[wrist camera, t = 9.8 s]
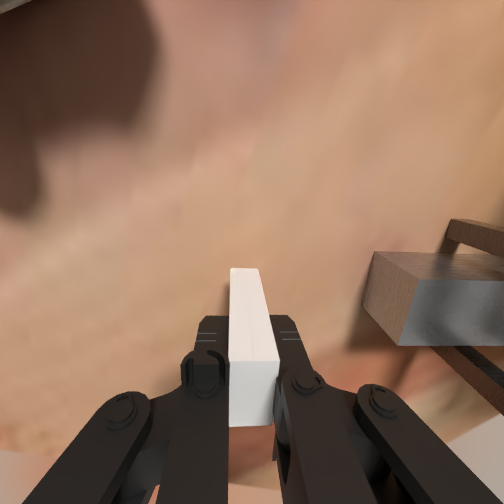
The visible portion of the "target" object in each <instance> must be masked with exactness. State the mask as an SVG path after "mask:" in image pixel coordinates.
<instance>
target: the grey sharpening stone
mask: <svg viewBox="0 0 504 504" xmlns="http://www.w3.org/2000/svg"><path fill="white" fill-rule="evenodd" d="M361 305H362V306H363V307H364V309H365V310H366V311H367V312H368V313H369V314H370V315H371V316H372V318H373V319H374V320H375V321H376V322H377V323H378V324H379V325H380V327H381V328H382V329H383V330H384V331H385V332H386V333H387V334H388V335H389V337H390V338H391V339H392V340H393V341H394V342H395V343H396V344H397V346H504V258H503V257H500V256H497V255H477V254H445V253H414V252H382V251H374V255H373V259H372V263H371V268H370V272H369V276H368V280H367V284H366V288H365V292H364V296H363V300H362V304H361Z"/></svg>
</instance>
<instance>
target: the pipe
mask: <svg viewBox="0 0 504 504" xmlns="http://www.w3.org/2000/svg"><path fill="white" fill-rule="evenodd" d="M29 1H31V0H0V14H1V13H4V12H6V11H8V10H11V9H13V8H15V7H18V6H20V5H22V4H25V3H27V2H29Z"/></svg>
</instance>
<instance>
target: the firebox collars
mask: <svg viewBox="0 0 504 504" xmlns="http://www.w3.org/2000/svg"><path fill="white" fill-rule="evenodd" d="M445 238H448V239H451V240H454V241H457V242H460V243H463V244H466V245H468V246H471V247H474V248H477V249H480V250H483V251H486V252H489V253H492V254H495V255H497V256H500V257H503V258H504V228H503V227H499V226H495V225H490V224H486V223H482V222H477V221H473V220H465V219H451V222H450V225H449V228H448V231H447V233H446V236H445ZM430 347H431V348H432V349H433V350H434V351H435V352H436V353H437V354H438V355H439V356H440V357H441V358H442V359H444V360H445V361H446V362H447V363H448V364H449V365H450V366H451V367H452V368H453V369H454V370H455V371H456V372H457V373H458V374H460V375H461V376H462V377H463V378H464V379H465V380H466V381H467V382H468V383H469V384H470V385H471V386H472V387H473V388H474V389H475V390H477V391H478V392H479V393H480V394H481V395H482V396H483V397H484V398H485V399H486V400H487V401H488V402H489V403H490V404H491V405H493V406H494V407H495V408H496V409H497V410H498V411H499V412H500V413H501V414H502V415H503V416H504V372H503V371H502V370H501V369H500V368H498V367H497V366H496V365H494V364H493V363H492V362H491V361H489V360H488V359H487V358H485V357H484V356H483V355H481V354H480V353H479V352H478V351H476V350H475V349H474V348H472V347H471V346H430Z"/></svg>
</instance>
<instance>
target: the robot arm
mask: <svg viewBox="0 0 504 504" xmlns="http://www.w3.org/2000/svg"><path fill="white" fill-rule="evenodd" d="M181 381H182V385H181V386H179V387H178V388H177V389H175V390H174V391H172V392H170V393H168V394H165V395H163V396H159V397H156V398H153V399H150V400H149V399H148V398H147V396H146V395H145V394H142V393H140V392H129V391H128V392H125V393H122V394H118V395H116V396H115V397H113V398H111V399H110V400H108V401H106V402H105V403H104V404H103V405H102V406H101V407H100V408H99V409H98V410H97V411H96V413H95V414H94V415H93V416H92V418H91V419H90V420H89V421H88V423H87V424H86V425H85V426H84V427H83V429H82V430H81V431H80V432H79V434H78V435H77V436H76V437H75V439H74V440H73V441H72V442H71V444H70V445H69V446H68V447H67V448H66V450H65V451H64V452H63V453H62V455H61V456H60V457H59V458H58V460H57V461H56V462H55V463H54V465H53V466H52V467H51V468H50V469H49V471H48V472H47V473H46V474H45V476H44V477H43V478H42V479H41V481H40V482H39V483H38V484H37V486H36V487H35V488H34V489H33V491H32V492H31V493H30V494H29V495H28V497H27V498H26V499H25V500H24V502H23V503H22V504H148V503H149V500H150V498H151V496H152V493H153V491H154V489H155V486H157V485H159V484H160V487H159V491H158V495H157V500H156V504H228V449H229V427H239V426H264V425H272V421H273V417H274V423H275V430H276V431H275V439H274V447H273V459H272V461H276V458H277V465H278V472H279V479H280V486H281V492H282V499H283V504H503V503H502V502H501V501H500V500H499V499H498V498H497V497H496V496H495V495H494V494H493V492H492V491H491V490H490V489H489V488H488V487H487V486H486V485H485V484H484V483H483V482H482V481H481V480H480V479H479V478H478V477H477V476H476V475H475V474H474V473H473V472H472V471H471V470H470V469H469V468H468V467H467V466H466V465H465V464H464V463H463V462H462V461H461V460H460V459H459V458H458V457H457V456H456V455H455V453H453V451H452V450H451V449H450V448H449V447H448V446H447V445H446V444H445V443H444V442H443V441H442V440H441V439H440V438H439V437H438V436H437V435H436V434H435V433H434V432H433V431H432V430H431V429H430V428H429V427H428V426H427V425H426V424H425V423H424V422H423V421H422V420H421V419H420V418H419V416H418V415H417V414H416V413H415V412H414V411H413V410H412V409H411V408H410V407H409V406H408V405H407V404H406V403H405V402H404V401H403V400H402V399H401V398H400V397H398V396H397V395H396V394H395V393H394V392H392V391H391V390H389V389H387V388H385V387H383V386H379V385H375V384H365V385H363V386H362V387H360V388H359V390H358V393H357V394H355V393H352V392H348V391H344V390H340V389H337V388H334V387H332V386H330V385H328V384H326V382H325V381H324V379H323V378H322V376H321V375H319V374H318V373H317V372H316V371H314V370H313V368H312V366H311V363H310V361H309V358H308V356H307V353H306V351H305V348H304V345H303V343H302V340H301V338H300V335H299V333H298V330H297V328H296V325H295V322H294V321H293V320H292V319H291V318H290V317H288V316H287V315H269V313H268V309H267V305H266V301H265V297H264V293H263V288H262V284H261V280H260V276H259V272H258V269H254V268H230V307H229V316H205V318H204V319H203V320H202V321H201V322H200V323H199V328H198V334H197V338H196V342H195V347H194V351H191V352H190V353H189V354H188V355H186V356H185V357H184V359H183V361H182V363H181Z"/></svg>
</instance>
